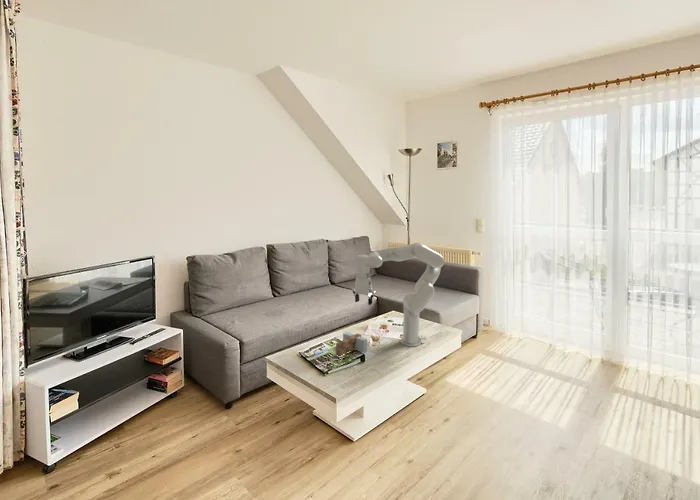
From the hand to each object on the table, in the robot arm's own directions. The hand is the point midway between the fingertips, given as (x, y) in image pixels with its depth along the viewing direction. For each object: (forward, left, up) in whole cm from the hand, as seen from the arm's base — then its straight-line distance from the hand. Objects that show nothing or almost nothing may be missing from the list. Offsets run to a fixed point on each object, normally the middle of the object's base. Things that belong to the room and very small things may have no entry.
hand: (363, 303), depth 235 cm
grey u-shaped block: (+6, +6, -26) cm, 28 cm away
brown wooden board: (+10, +10, -26) cm, 30 cm away
